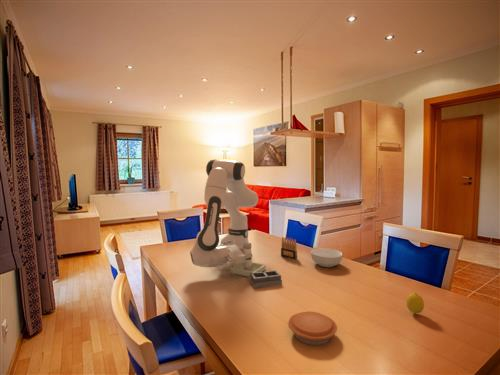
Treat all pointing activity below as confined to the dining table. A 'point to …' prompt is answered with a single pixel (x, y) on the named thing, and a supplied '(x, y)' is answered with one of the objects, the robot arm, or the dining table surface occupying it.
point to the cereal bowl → (326, 257)
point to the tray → (240, 270)
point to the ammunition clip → (289, 248)
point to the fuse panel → (265, 279)
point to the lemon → (415, 303)
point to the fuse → (248, 261)
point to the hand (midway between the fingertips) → (249, 252)
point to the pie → (312, 327)
